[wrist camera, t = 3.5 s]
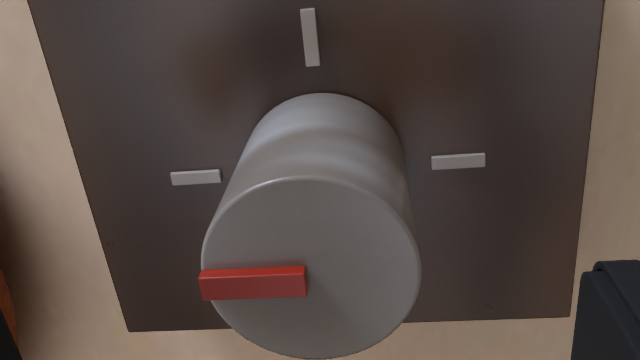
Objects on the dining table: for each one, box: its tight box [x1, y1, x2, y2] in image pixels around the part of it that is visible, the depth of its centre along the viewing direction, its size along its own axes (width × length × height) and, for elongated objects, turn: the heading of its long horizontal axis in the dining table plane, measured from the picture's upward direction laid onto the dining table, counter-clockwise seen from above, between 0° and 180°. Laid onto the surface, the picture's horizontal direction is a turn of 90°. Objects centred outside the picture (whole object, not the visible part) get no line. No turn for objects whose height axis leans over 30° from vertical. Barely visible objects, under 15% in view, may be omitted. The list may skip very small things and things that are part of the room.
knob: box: [198, 93, 422, 359], centre depth 14 cm, size 4×4×5 cm
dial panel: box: [27, 0, 605, 332], centre depth 17 cm, size 14×11×3 cm
